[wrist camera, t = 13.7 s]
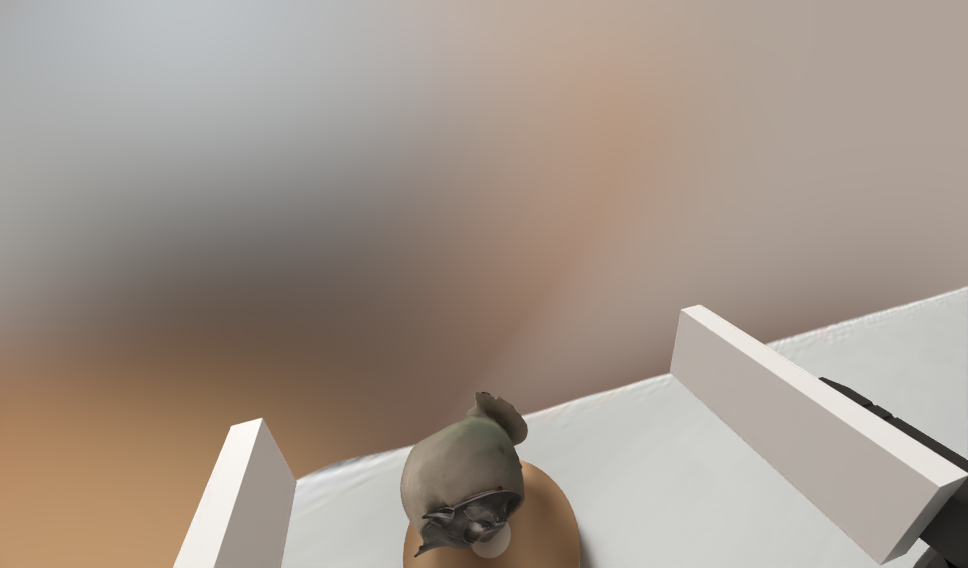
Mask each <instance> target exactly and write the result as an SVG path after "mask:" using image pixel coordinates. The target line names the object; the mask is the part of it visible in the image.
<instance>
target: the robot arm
mask: <svg viewBox="0 0 968 568" xmlns="http://www.w3.org/2000/svg"><path fill="white" fill-rule="evenodd" d="M670 373H671V374H672V375H673V376H674V377H675V378H676V379H678V380H679V381H680V382H681V383H682V384H683V385H684V386H685V387H686V388H687V389H688V390H689V391H691V392H692V393H693V394H694V395H695V396H696V397H697V398H698V399H699V400H700V401H701V402H703V403H704V404H705V405H706V406H707V407H708V408H709V409H710V410H711V411H712V412H713V413H715V414H716V415H717V416H718V417H719V418H720V419H721V420H722V421H723V422H724V423H725V424H727V425H728V426H729V427H730V428H731V429H732V430H733V431H734V432H735V433H736V434H737V435H739V436H740V437H741V438H742V439H743V440H744V441H745V442H746V443H747V444H748V445H749V446H750V447H752V448H753V449H754V450H755V451H756V452H757V453H758V454H759V455H760V456H761V457H762V458H764V459H765V460H766V461H767V462H768V463H769V464H770V465H771V466H772V467H773V468H774V469H776V470H777V471H778V472H779V473H780V474H781V475H782V476H783V477H784V478H785V479H786V480H788V481H789V482H790V483H791V484H792V485H793V486H794V487H795V488H796V489H797V490H798V491H799V492H801V493H802V494H803V495H804V496H805V497H806V498H807V499H808V500H809V501H810V502H811V503H813V504H814V505H815V506H816V507H817V508H818V509H819V510H820V511H821V512H822V513H823V514H825V515H826V516H827V517H828V518H829V519H830V520H831V521H832V522H833V523H834V524H835V525H837V526H838V527H839V528H840V529H841V530H842V531H843V532H844V533H845V534H846V535H847V536H849V537H850V538H851V539H852V540H853V541H854V542H855V543H856V544H857V545H858V546H859V547H860V548H862V549H863V550H864V551H865V552H866V553H867V554H868V555H869V556H870V557H871V558H872V559H874V560H875V561H876V562H877V563H878V564H879V565H882V564H884V563H887V562H889V561H891V560H893V559H895V558H897V557H899V556H902V555H904V554H906V553H907V552H908V550H909V549H910V548H911V547H912V545H913V544H914V543H915V542H916V540H917V539H918V538H921V539H922V540H923V541H924V542H926V543H927V544H928V545H929V546H930V547H929V548H928V549H927V550H926V552H925V553H924V554H923V555H922V556H921V558H920V559H919V560H918V561H917V562H916V563H915V565H914V567H913V568H968V460H967V459H965V458H963V457H962V456H960V455H958V454H957V453H955V452H953V451H952V450H950V449H949V448H947V447H945V446H944V445H942V444H940V443H939V442H937V441H935V440H934V439H932V438H930V437H929V436H927V435H926V434H924V433H922V432H921V431H919V430H917V429H916V428H914V427H912V426H911V425H909V424H907V423H906V422H904V421H903V420H901V419H899V418H898V417H897V418H894V417H893V416H892V414H891V413H889V412H888V411H886V410H884V409H883V408H881V407H880V406H878V405H876V406H875V405H873V403H872V402H871V401H870V400H868V399H866V398H865V397H863V396H861V395H860V394H858V393H857V392H855V391H853V390H852V389H850V388H848V387H846V386H843V385H841V384H838V383H836V382H833V381H831V380H828V379H826V378H823V377H821V378H816V377H814V376H813V375H811V374H810V373H808V372H806V371H805V370H803V369H802V368H800V367H799V366H797V365H795V364H794V363H792V362H791V361H789V360H787V359H786V358H784V357H783V356H781V355H779V354H778V353H776V352H775V351H773V350H772V349H770V348H768V347H767V346H765V345H764V344H762V343H760V342H759V341H757V340H756V339H754V338H752V337H751V336H749V335H748V334H746V333H744V332H743V331H741V330H740V329H738V328H737V327H735V326H733V325H732V324H730V323H729V322H727V321H725V320H724V319H722V318H721V317H719V316H718V315H716V314H714V313H713V312H711V311H709V310H708V309H706V308H704V307H703V306H701V305H697V306H693V307H689V308H685V309H681V312H680V318H679V323H678V329H677V334H676V340H675V346H674V351H673V357H672V363H671V368H670ZM296 483H297V482H296V480H295V479H294V476H293V475H292V473H291V471H290V469H289V467H288V465H287V463H286V461H285V459H284V458H283V456H282V454H281V452H280V450H279V448H278V446H277V445H276V443H275V441H274V439H273V437H272V435H271V433H270V431H269V429H268V427H267V425H266V424H265V422H264V420H263V418H260V419H257V420H253V421H249V422H245V423H241V424H237V425H233V426H231V429H230V431H229V434H228V436H227V438H226V441H225V443H224V446H223V448H222V451H221V453H220V455H219V458H218V460H217V463H216V465H215V468H214V470H213V472H212V475H211V477H210V480H209V482H208V485H207V487H206V489H205V492H204V494H203V496H202V499H201V502H200V504H199V506H198V509H197V511H196V514H195V516H194V518H193V521H192V523H191V526H190V528H189V530H188V533H187V535H186V538H185V540H184V543H183V545H182V547H181V550H180V552H179V555H178V557H177V560H176V562H175V564H174V567H173V568H281V564H282V558H283V553H284V548H285V542H286V537H287V531H288V526H289V521H290V515H291V510H292V504H293V499H294V493H295V488H296Z"/></svg>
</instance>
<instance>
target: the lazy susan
mask: <svg viewBox="0 0 968 568" xmlns="http://www.w3.org/2000/svg"><path fill="white" fill-rule="evenodd" d="M519 461H520V463H521V465H522V466H523V468H522V469H521V470H522V474H523V482H524V494H525V499H524V502H523V504H522V506H521V507H520V508H519V509H518V510H517V511H516V512H515V513H514V514H513V515H512V516H510V517H509V518H508V519H507V522H506V524H505V526H504V527H503V528H502V529H501V530H500V531H499V532H498V533H497V534H496V535H495V536H494V537H493V538H492V539H491V540H490V541H488V542H484V543H483V542H479V541H475V542H474V543H473V544H472V545H471V546H470V547H468V548H466V549H456V548H453V547H449V546H442V547H437V548H434V549H431V550H428V551H426V552H424V553H422V554H420V555H419V556H417V557H416V558H415V557H414V556H415V554H416V553H417V552H418V551H419V546H423V540H422V538H421V537H420V535H419V534H418V532H417V531H416V530H415V528H414V527H413V525H412V524H411V522H410V523H409V526H408V530H407V533H406V538H405V543H404V553H403V567H404V568H580V557H581V556H580V538H579V531H578V526H577V522H576V518H575V515H574V512H573V510H572V508H571V505H570V503H569V501H568V499H567V498H566V496H565V494H564V493H563V491H562V490H561V489H560V488H559V486H558V485H557V484H556V483H555V482H554V481H553V480H552V479H551V478H550V477H549V476H548V475H547V474H546V473H544V472H543V471H542V470H540V469H539V468H537V467H535V466H533V465H532V464H529V463H527V462H525V461H522V460H519Z"/></svg>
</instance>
